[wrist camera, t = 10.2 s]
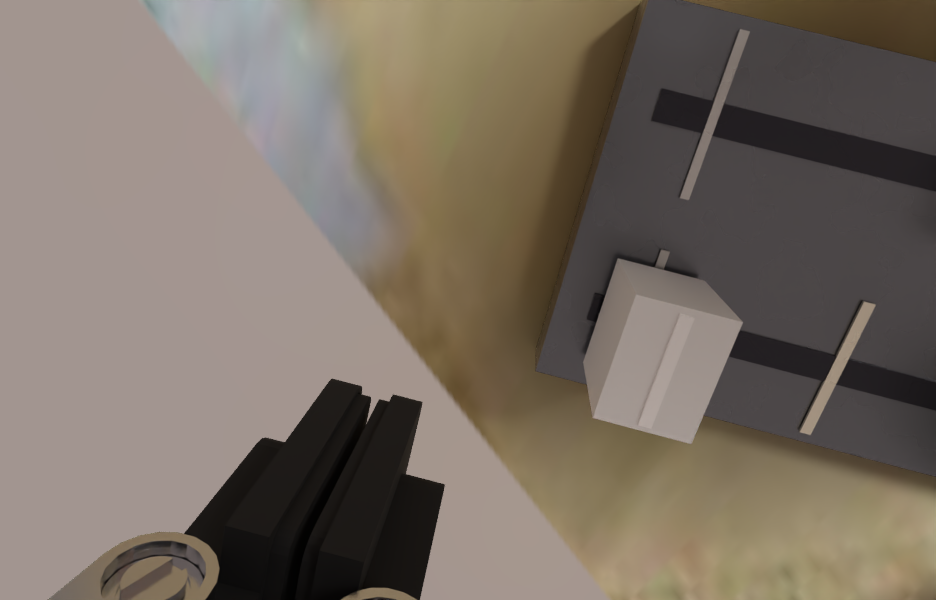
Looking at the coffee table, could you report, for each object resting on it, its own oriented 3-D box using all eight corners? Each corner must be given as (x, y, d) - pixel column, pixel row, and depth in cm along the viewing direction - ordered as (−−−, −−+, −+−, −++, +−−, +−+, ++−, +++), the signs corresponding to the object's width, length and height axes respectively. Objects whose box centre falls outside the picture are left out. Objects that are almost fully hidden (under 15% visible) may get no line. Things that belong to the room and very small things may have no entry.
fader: (617, 258, 20) (636, 295, 16) (704, 280, 20) (744, 323, 16) (583, 362, 22) (593, 419, 18) (664, 383, 21) (692, 445, 18)
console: (640, 2, 20) (651, -9, 18) (1245, 150, 19) (1328, 156, 17) (535, 349, 24) (535, 372, 22) (1026, 478, 24) (1072, 514, 22)
